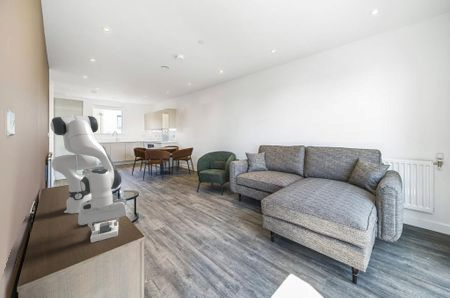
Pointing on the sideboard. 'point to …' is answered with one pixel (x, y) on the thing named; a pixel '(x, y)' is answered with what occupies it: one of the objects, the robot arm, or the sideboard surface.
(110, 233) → the outlet plate
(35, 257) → the sideboard surface
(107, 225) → the plug
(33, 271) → the sideboard surface
